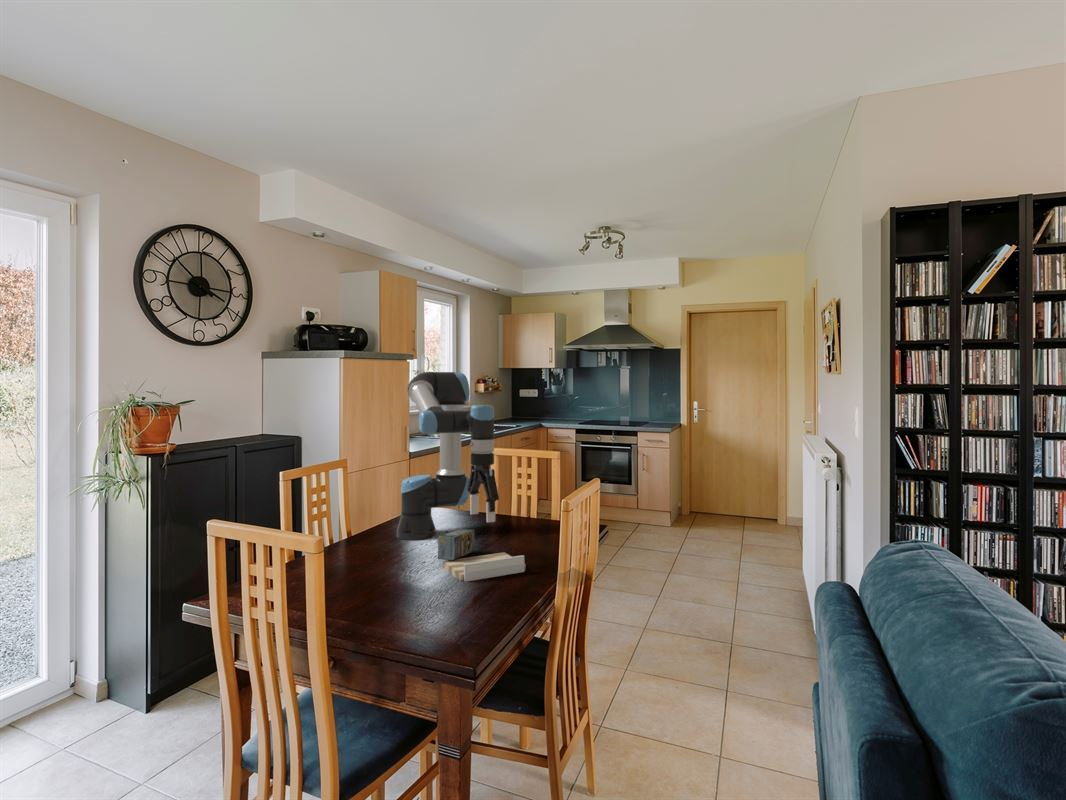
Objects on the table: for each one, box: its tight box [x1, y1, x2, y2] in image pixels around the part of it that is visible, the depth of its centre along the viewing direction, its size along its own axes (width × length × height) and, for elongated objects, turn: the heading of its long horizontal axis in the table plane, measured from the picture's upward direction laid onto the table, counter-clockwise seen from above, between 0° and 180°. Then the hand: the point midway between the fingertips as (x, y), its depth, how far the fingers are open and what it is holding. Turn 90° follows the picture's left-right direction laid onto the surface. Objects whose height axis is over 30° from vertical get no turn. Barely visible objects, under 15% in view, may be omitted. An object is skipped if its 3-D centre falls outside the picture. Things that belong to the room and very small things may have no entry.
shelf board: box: [442, 552, 527, 582], centre depth 177 cm, size 16×22×2 cm
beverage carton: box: [437, 528, 476, 561], centre depth 188 cm, size 8×19×7 cm
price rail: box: [464, 555, 525, 583], centre depth 170 cm, size 1×20×5 cm, turn 119°
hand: (482, 517), depth 178 cm, fingers open, 13 cm apart
